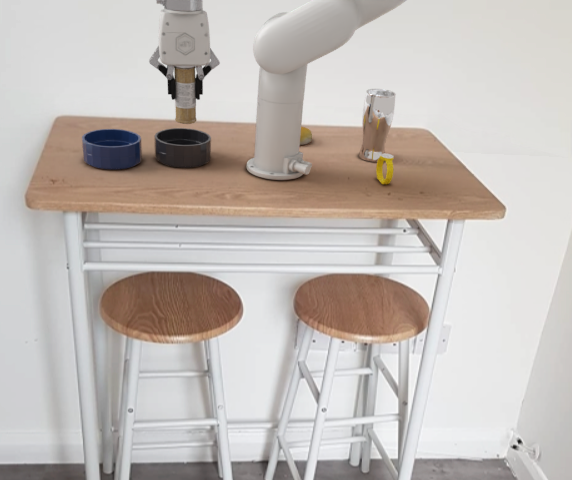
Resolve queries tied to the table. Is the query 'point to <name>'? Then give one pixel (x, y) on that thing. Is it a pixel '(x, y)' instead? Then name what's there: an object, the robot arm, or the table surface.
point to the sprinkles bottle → (185, 94)
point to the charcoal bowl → (182, 147)
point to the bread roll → (305, 136)
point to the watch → (389, 163)
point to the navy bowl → (112, 149)
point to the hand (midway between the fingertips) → (185, 97)
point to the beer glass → (376, 122)
